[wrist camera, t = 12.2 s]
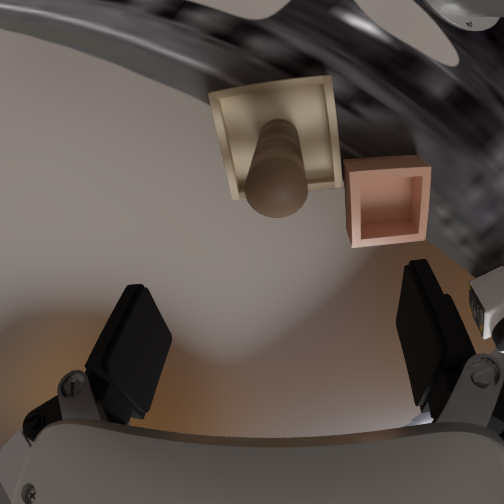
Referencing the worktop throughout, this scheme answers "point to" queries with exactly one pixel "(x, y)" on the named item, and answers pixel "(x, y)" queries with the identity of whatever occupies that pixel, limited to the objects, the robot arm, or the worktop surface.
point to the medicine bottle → (489, 305)
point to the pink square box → (386, 199)
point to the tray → (279, 107)
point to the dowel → (277, 171)
